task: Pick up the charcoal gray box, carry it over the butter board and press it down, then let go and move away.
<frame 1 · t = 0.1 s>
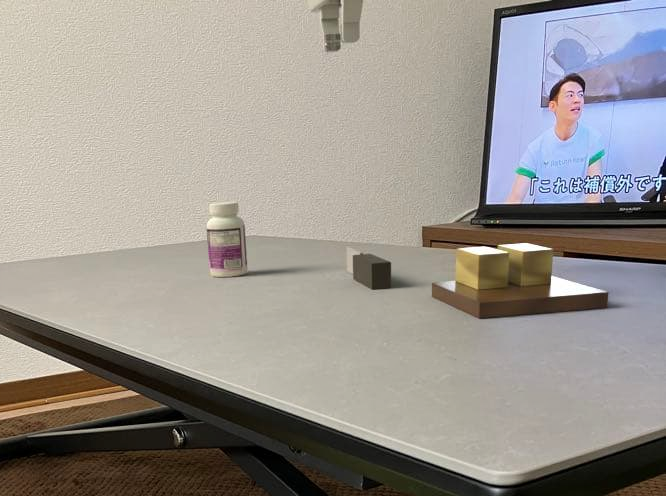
hand: (340, 47, 102), 26 cm above the table, tool pointing down, fingers open, 8 cm apart
pill bottle: (229, 276, 128), on the table
charcoal gray box: (362, 278, 117), on the table
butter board: (513, 301, 94), on the table
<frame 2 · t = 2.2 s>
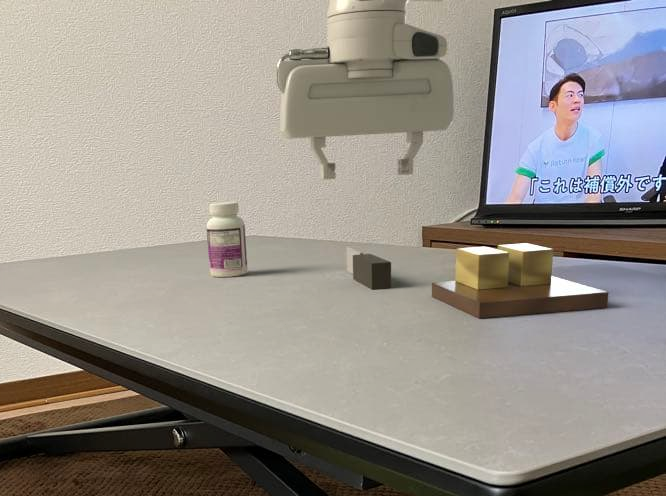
hand: (366, 177, 108), 12 cm above the table, tool pointing down, fingers open, 8 cm apart
nothing on the table moved.
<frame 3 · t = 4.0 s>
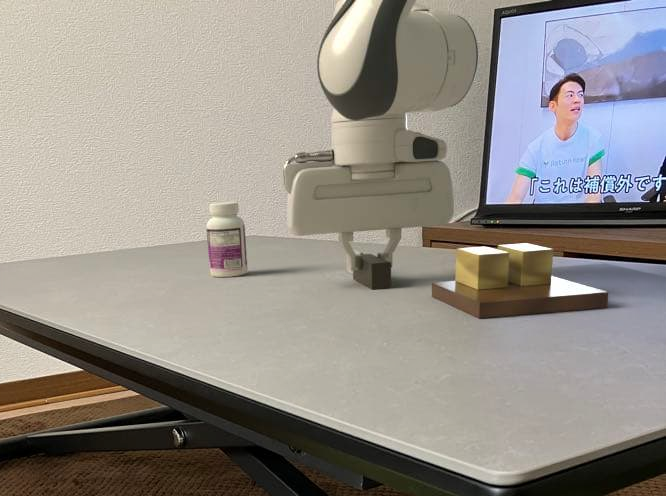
hand: (370, 268, 112), 2 cm above the table, tool pointing down, fingers closed on charcoal gray box, 2 cm apart
charcoal gray box: (361, 278, 117), on the table, touching gripper
everything else where it was.
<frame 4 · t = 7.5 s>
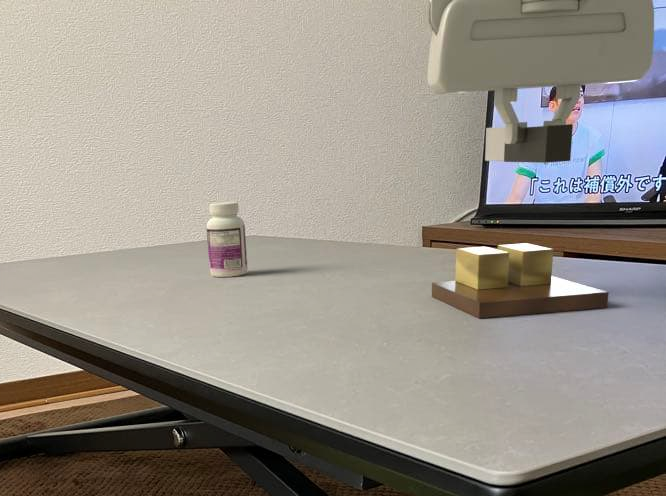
hand: (534, 142, 85), 15 cm above the table, tool pointing down, fingers closed on charcoal gray box, 2 cm apart
charcoal gray box: (515, 161, 90), point 14 cm above the table, touching gripper
everything else where it was.
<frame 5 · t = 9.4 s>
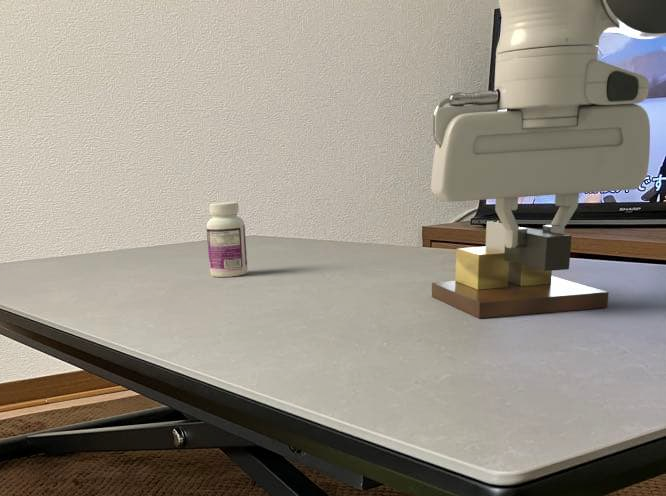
hand: (534, 246, 88), 6 cm above the table, tool pointing down, fingers closed on charcoal gray box, 2 cm apart
charcoal gray box: (514, 259, 92), point 4 cm above the table, touching gripper
everything else where it was.
when the fingers open (3 cm above the table, at t = 10.8 s): charcoal gray box stays where it is, resting on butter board.
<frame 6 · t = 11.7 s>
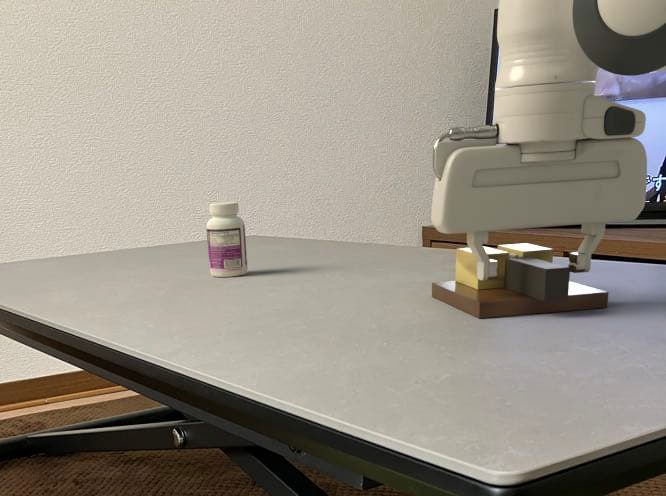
hand: (533, 275, 89), 3 cm above the table, tool pointing down, fingers open, 8 cm apart
charcoal gray box: (514, 287, 94), point 1 cm above the table, touching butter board
everything else where it was.
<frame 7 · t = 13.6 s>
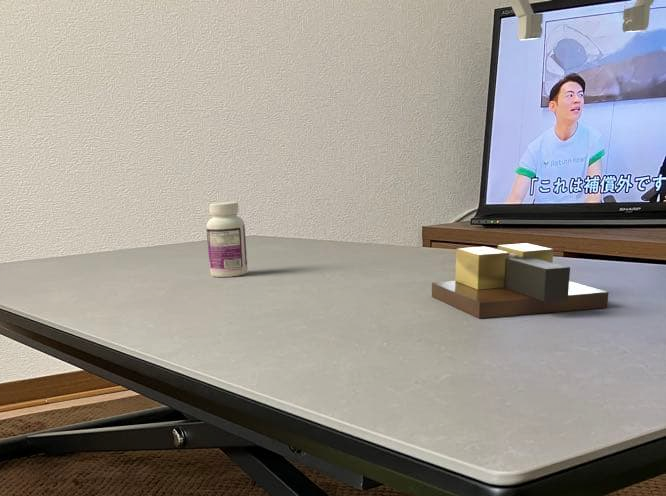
hand: (582, 35, 77), 24 cm above the table, tool pointing down, fingers open, 8 cm apart
nothing on the table moved.
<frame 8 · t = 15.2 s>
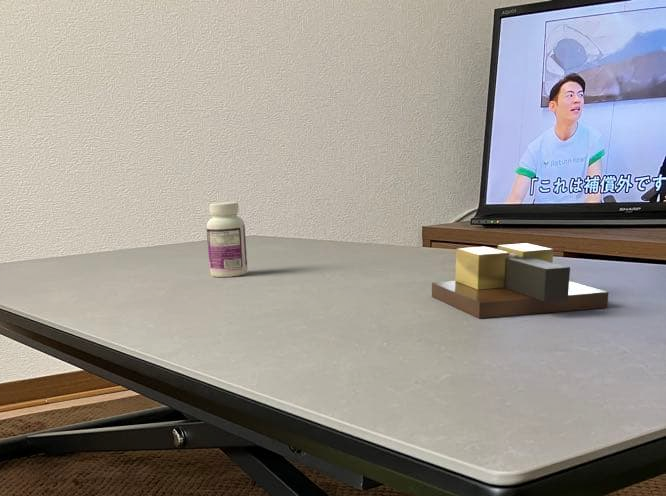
nothing on the table moved.
at the end: charcoal gray box 0.5 cm off-centre on the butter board, point 1.5 cm above the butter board's base; charcoal gray box tilted 0°; the gripper is holding nothing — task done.
